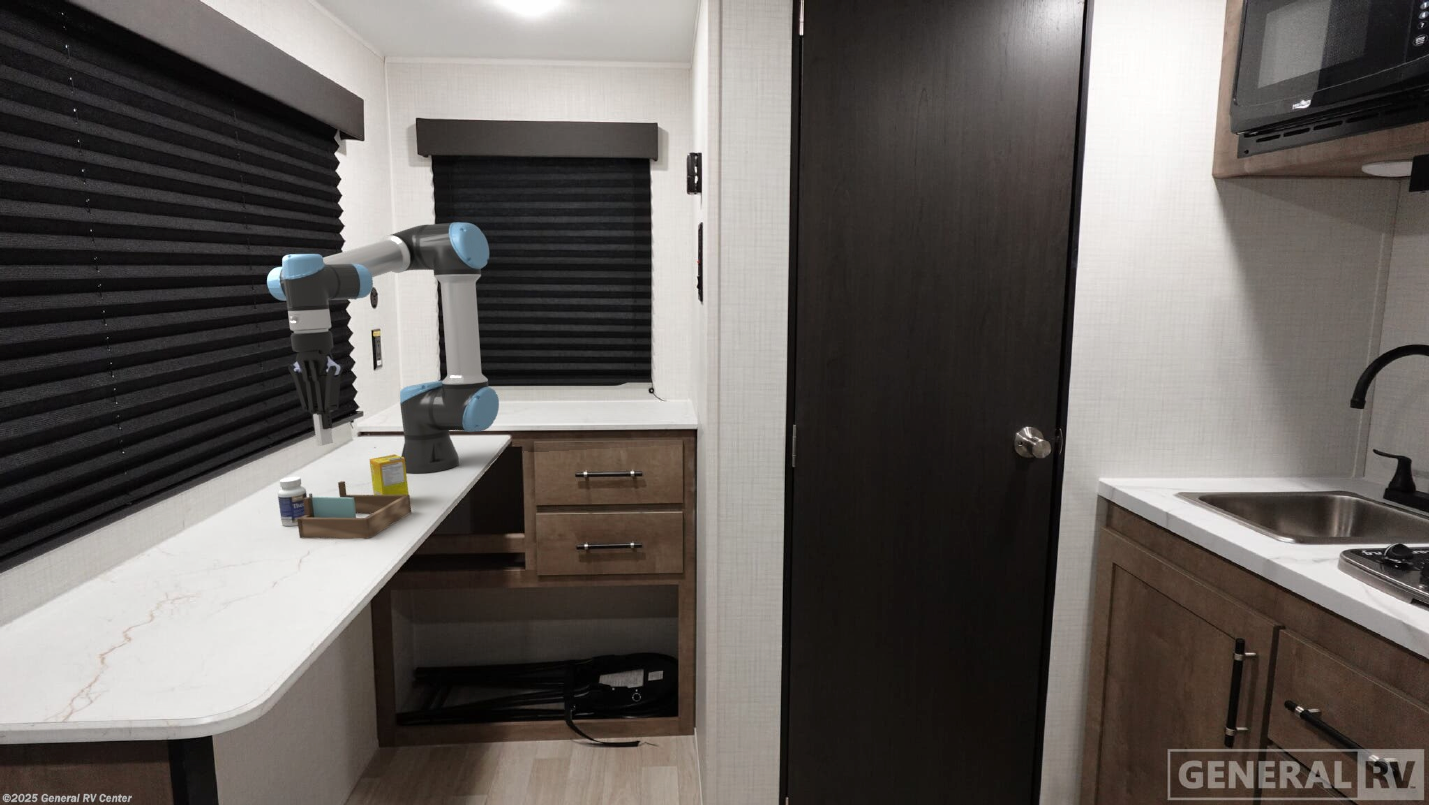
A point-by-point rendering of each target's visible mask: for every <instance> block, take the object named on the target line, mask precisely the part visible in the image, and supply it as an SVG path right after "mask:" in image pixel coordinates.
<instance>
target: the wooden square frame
mask: <svg viewBox="0 0 1429 805" xmlns="http://www.w3.org/2000/svg"><path fill="white" fill-rule="evenodd" d="M337 483H338V486H337V487H338V494H339V497H349V498H354V503H355V511H356V514H369V515H367V516H366V517H356V518H314V510H313V502H312V497H313V493H311V492H310V493H308V496H309V497H308V496H307V497H306V498H304V499H303V503H304V510H305V515H304V516H302V517H300V518H298V519H297V521H298V525H297V527H298V535H299V539H353V538H364V539H365V540H367V539H368V540H369V539H370V538H372V537H374V536H375V535H377V534H379V533H380V532H382V531H384V530H385V529H387V528H388V527H390V526H392V525H393V524H395V523H397V522H398V521H400V520H402V519H403V518H405V517H407V516H408V515H410V514H411V513H412V504H411V496H410V494H409V495H374V494H348V493H347V488H346V487H347V486H346V481H344V480H343V481H342V480H341V481H339V482H337Z"/></svg>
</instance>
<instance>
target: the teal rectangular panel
mask: <svg viewBox="0 0 1429 805" xmlns="http://www.w3.org/2000/svg"><path fill="white" fill-rule="evenodd" d="M312 502H313V510H314V518H357V513H356V511H355V503H354V498H349V497H340V496H337V497H336V496H312Z"/></svg>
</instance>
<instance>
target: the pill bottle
mask: <svg viewBox="0 0 1429 805" xmlns="http://www.w3.org/2000/svg"><path fill="white" fill-rule="evenodd" d="M279 486H280V488H281V489H279V491H278V493H277V499H278V504H279V506H278V507H279V513H280V514H279V515H280V521H281V524H282V526H284V527H292V526H293V527H295V526H298V521H297V519H298V518H300V517H302V516H304V515H305V510H304V503H303V499H304V498H306V497H308V495H307V494H308V493H307V489H306V488H305V487H304V486H302V479H301V477H300V476H290V477H284V478H282V479H280V480H279Z"/></svg>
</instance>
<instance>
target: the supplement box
mask: <svg viewBox="0 0 1429 805" xmlns="http://www.w3.org/2000/svg"><path fill="white" fill-rule="evenodd" d="M369 467H370V476H371V482H372V491H373V495H410V494H409V486H408V479H407V478H408V477H407V472H406V467H405V459H404V457H401V455H399V454H398V455H397V454H390V455H385V456H381V457H379V456H378V457H375V458H369Z"/></svg>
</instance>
